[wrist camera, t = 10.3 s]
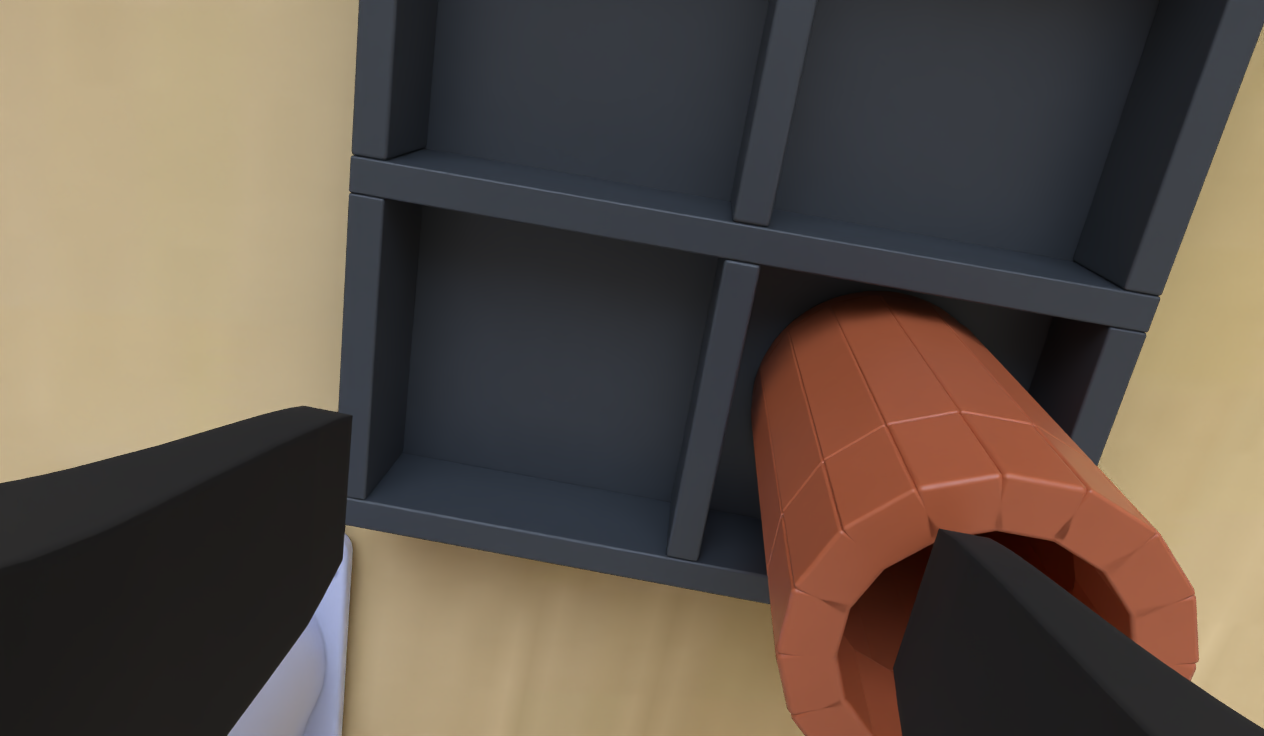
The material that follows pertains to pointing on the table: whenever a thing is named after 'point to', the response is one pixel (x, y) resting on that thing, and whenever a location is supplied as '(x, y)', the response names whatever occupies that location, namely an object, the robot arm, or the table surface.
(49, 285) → the table surface
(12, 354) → the table surface
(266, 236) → the table surface
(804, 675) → the jar
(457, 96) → the tray
